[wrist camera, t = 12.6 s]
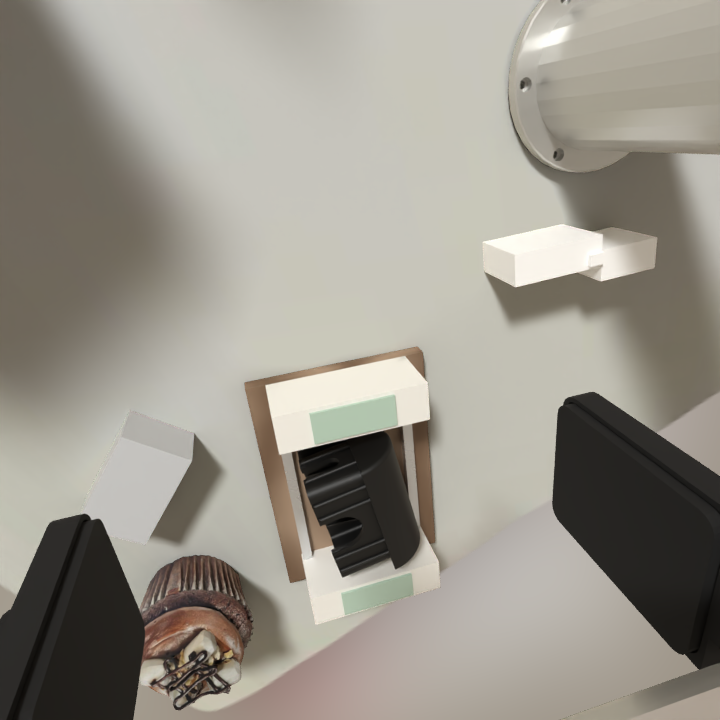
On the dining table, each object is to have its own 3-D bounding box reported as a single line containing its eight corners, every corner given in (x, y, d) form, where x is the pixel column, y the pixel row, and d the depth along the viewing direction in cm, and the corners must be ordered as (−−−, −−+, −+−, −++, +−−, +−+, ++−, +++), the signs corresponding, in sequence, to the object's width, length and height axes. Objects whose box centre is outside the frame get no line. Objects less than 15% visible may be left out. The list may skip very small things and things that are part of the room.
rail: (403, 356, 40) (406, 360, 40) (419, 546, 49) (422, 552, 48) (266, 384, 38) (267, 389, 38) (307, 578, 47) (308, 584, 46)
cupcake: (111, 591, 44) (83, 707, 35) (204, 527, 43) (200, 627, 35) (186, 645, 48) (179, 760, 39) (271, 586, 48) (283, 689, 39)
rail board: (417, 346, 42) (422, 352, 41) (430, 533, 50) (435, 542, 49) (244, 382, 39) (245, 389, 38) (288, 573, 48) (290, 583, 47)
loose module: (194, 431, 40) (192, 460, 37) (151, 510, 42) (145, 545, 38) (130, 408, 38) (120, 436, 35) (87, 492, 40) (74, 527, 36)
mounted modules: (404, 355, 40) (428, 384, 36) (420, 546, 49) (441, 589, 44) (265, 385, 38) (271, 419, 34) (306, 578, 47) (316, 626, 42)
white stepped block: (442, 275, 40) (474, 295, 35) (521, 138, 38) (568, 138, 33) (573, 346, 46) (616, 372, 41) (649, 232, 44) (706, 244, 38)
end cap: (404, 501, 46) (432, 556, 40) (330, 531, 45) (347, 592, 39) (375, 411, 42) (402, 457, 36) (293, 443, 41) (306, 495, 35)
